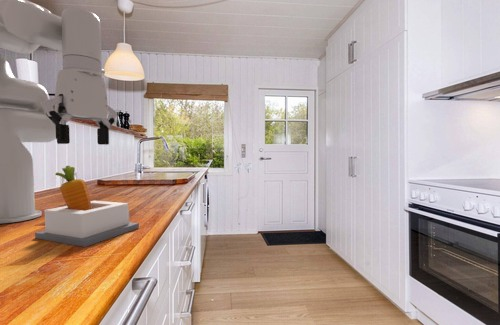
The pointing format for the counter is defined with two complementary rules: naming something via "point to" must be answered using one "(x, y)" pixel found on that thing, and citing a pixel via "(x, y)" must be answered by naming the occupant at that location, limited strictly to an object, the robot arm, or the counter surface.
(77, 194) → the carrot
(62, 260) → the counter surface
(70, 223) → the socket stand
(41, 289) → the counter surface
